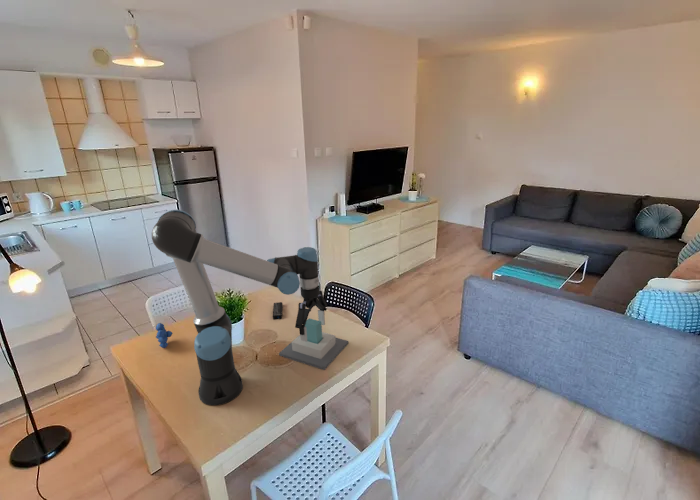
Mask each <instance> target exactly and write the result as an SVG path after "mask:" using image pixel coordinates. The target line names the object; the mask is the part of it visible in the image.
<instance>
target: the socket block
mask: <svg viewBox="0 0 700 500" xmlns="http://www.w3.org/2000/svg"><path fill="white" fill-rule="evenodd" d="M348 345H349V340H348V339H342V338H339V337H336V335H335V334H331V333H327V332H324V331H322V340H321V341H320V342H319V343H318V344H316V343H312V342H309V341H307V342H305V341H302V340H301V338H300V334H299V335H298V336H297V337H296V338H294V339H293V340H292V341H291V342H290V343H288V345H287V346H285V347H284V348H282V350H281V351H279V352H278V356H279V355H280V357H282V356H283V357H282V358H285V359H289V360H291V361H295V362H298V363H300V364H305V365H307V366H311V367H314V368H317V369H320V370H322V371H325V370H326V369H327V368H328V367H329V366H330V365H331V364H332V363H333V361H334V360H335V359H336V358H337V357H338V356H339V355H340V354H341V352H342V351H343V350H344V349H345V348H346V347H347V346H348Z"/></svg>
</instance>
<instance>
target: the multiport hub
mask: <svg viewBox="0 0 700 500" xmlns="http://www.w3.org/2000/svg"><path fill="white" fill-rule="evenodd" d="M283 307H284V305H283V301H279V302H278V301H277V302H273V309H272V320H273V321H275V320H283Z"/></svg>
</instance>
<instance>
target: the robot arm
mask: <svg viewBox="0 0 700 500" xmlns="http://www.w3.org/2000/svg"><path fill="white" fill-rule="evenodd" d="M196 228H197V225H196V220H195V219H194V217H193V216H192V215H191V214H190V213H188V212H187V211H185V210H181V209H172V210H168V211H166V212H164V213H163V214H161V215H160V216H159V218H158V220H157V222H156V223H155V225H154V226H153V227H152V231H151V239H152V240H151V241H152V243H153V244H154V247H155V248H156V249H158V250H159V251H160V252H162V253H163V254H165V255H166V257H169V258H170V259H172V260H173V262H174V264H175V268H176V270H177V273H178V275H179V278H180V279H181V282H182V285H183V287H184V290H185V293H186V295H187V298H188V299H189V302H190V305H191V308H192V310H193V312H194V317H193V320H192V321H193V325H194V326H195V329H196V332H197V335H196V336H195V338H194V346H193V347H194V348H193V349H194V351H195V354H196V361H197V366H198V369H199V374H200V381H199V387H198V397H199V400H200V401H201V403H203V404H205V405H207V406H220V405H223V404H227V403H229V402H231V401H233V400H235V399H236V398H237V397H238V396H239V395H240V394H241V392H242V391H243V388H244V387H243V386H244V384H243V379H242V376H241V375H240V374H239V371H238V370H237V369H236V366H235V365H236V364H235V361H234V360H235V359H234V354H233V341H232V340H233V339H232V338H233V337H232V335H233V334H232V330H233V323H232V320H231V318H230V317H229V315H228V314H227V312H226V310H225V308H224V307H222V306H219V302H218V300H217V297H216V294H215V292H214V289H213V287H212V284H211V281H210V279H209V277H208V274H207V271H206V268H205V265H207V266H210V267H214V268H216V269H218V270H222V271H225V272H228V273H231V274H234V275H238V276H241V277H243V278H246V279H250V280H253V281H256V282H258V283H263V284H265V285H268V286H271V287H274V288H277V290H278V291H280V292H281V294H284V295H288V296H290V295H293V294H295V293H297V291H298V290H299V288H300V295H301V297H302V299H303V301H302V302H298V308H297V309H298V310H297V315H296V316H297V317H296V321H295V326H294V328H295V329H298V330H299V331H298V332H299V335H300V338H301V340H302V341H305V342H307V330H306V326H305V324H306V321H307V320H308V319H309V314H310V312H312V309H314V307H316V308H317V309H318V310H317V316H318V317H317V319H318V320H317V321H321V325H322V326H325V325H326V320H325V319H326V318H325V312H326V311H327V309H328V308H327V307H328V303H327V301H326V300H325V297H324V293H323V290H321V289H320V279H319V278H320V277H319V276H320V275H319V259H318V258H319V257H318V252H317V250H316V249H315V248H314V247H309V246H307V247H300V248H299V249H297V252H296V254H294V255H287V256H281V257H280V256H278V257H276V256H275V257H272V258H268V259H267V260H266V259H262V258H259V257H257V256H255V255H251V254H249V253H246V252H243V251H240V250H237V249H234V248H232V247H229V246H226V245H223V244H220V243H217V242H214V241H212V240H210V239H209V240H208V239H206V238H205V236H203V234H201V233H199V232H197V231H196V230H197V229H196Z"/></svg>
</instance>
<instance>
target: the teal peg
mask: <svg viewBox="0 0 700 500" xmlns="http://www.w3.org/2000/svg"><path fill="white" fill-rule="evenodd" d="M305 326H306V330H307V341H309V342H312V343H316V344H318V343H319V342H320V341H321V340H322V332H323V329H322V326H323V325H321V321H319V320H316V319H313V318H309V317H308V318H307V321H306V324H305Z"/></svg>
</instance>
